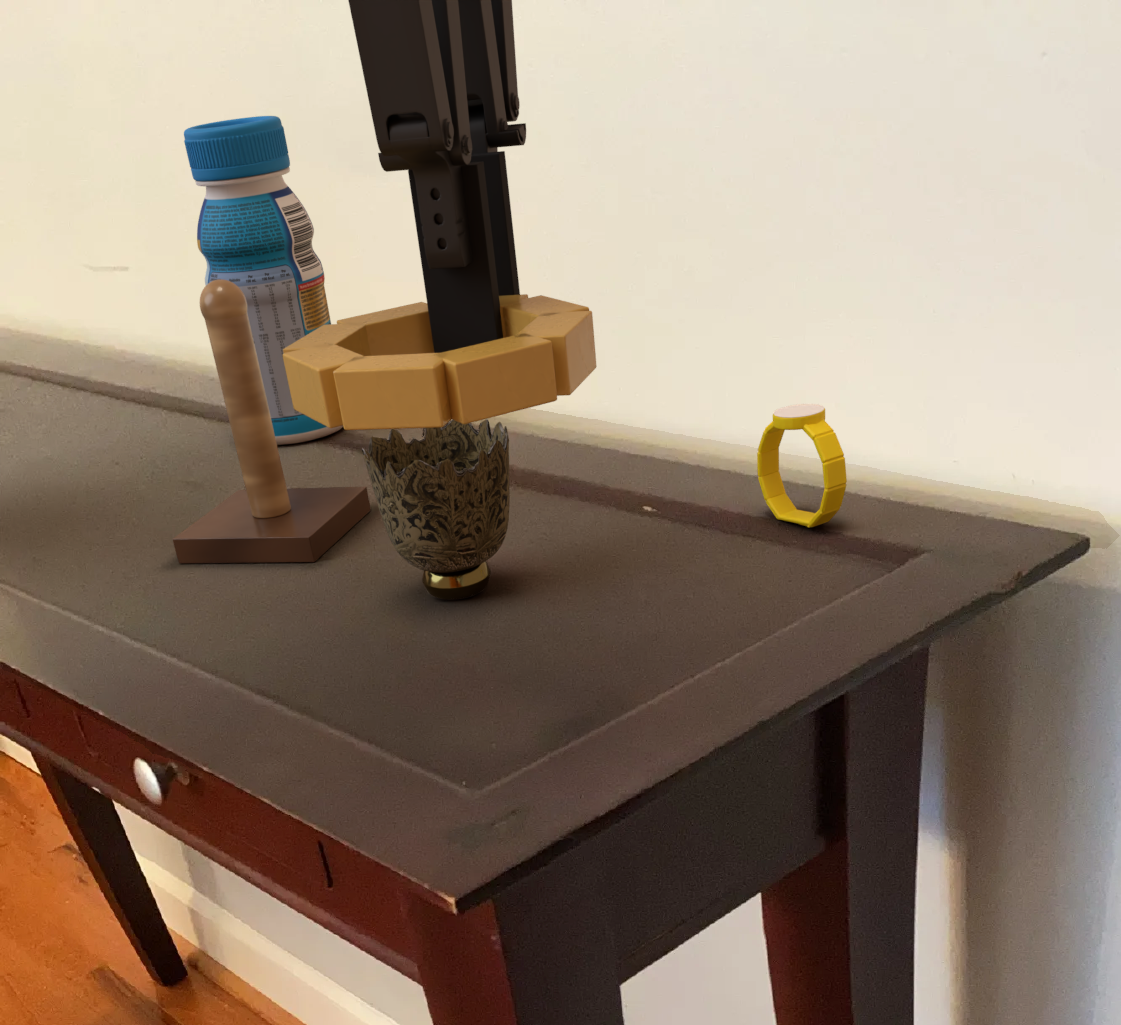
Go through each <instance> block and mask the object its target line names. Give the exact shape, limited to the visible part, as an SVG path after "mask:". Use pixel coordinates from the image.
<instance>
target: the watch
mask: <svg viewBox="0 0 1121 1025" xmlns="http://www.w3.org/2000/svg"><path fill="white" fill-rule="evenodd" d="M798 430H799V431H800V430H802V431H803V432H804V433H805V434H806V435H807V436H808V437H809V438H810V440H812V442H813V444H814V447H815V449H816V452H817V454H818V456H819V459H820V461H821V464H822V478H823V487H824V489H823V493H822V497H821V501H820V505H819V508H818V510H817V511H816V512H812V511H806V510H802V509H797V507H796V506H795V505H794V503H793V501H792V500H791V499H790V497H789V496H788V494H787V493H786V489H785V486H784V482H783V479H782V476H781V473H780V445H781V442H782V440H783V437H784V434H785V431H798ZM756 455H757V456H756V461H757V462H756V466H757V470H756V471H757V479H758V483H759V486H760V489H761V493H762V497H763V499H764V501H765V503H766V505H767V506H768V509H769V510H770V511H771V512H772V514H773V515H774V517H775V518H776V520H778V521H782V522H783V521H784V522H789V523H794V524H798V525H800V526H805V527H806V528H814V527H818V526H820V525H822V524H825V523H829V522H830V521H831V520H832V519H833V517H834V516H835V515H836V514H837V513H838V512H839V511H840V509H841V507H842V505H843V501H844V497H845V492H846V488H847V482H848V480H847V468H846V457H845V453H844V450H843V449H842V446H841V443H840V441H839V439H838V436H837V434H836V432H835V430H834V429H833V428H832V427H831V425H829V423H827V421H826V408H825V406H823V405H822V404H819V403H818V404H816V403H799V404H798V403H797V404H790V405H785V406H782V407H779V408H777V409H775V410H774V411H773V412H772V421H771V422H770V423H769V424H768V425H766V427H765V428H764V430H763V432H762V434H761V438H760V441H759V444H758V448H757V452H756Z"/></svg>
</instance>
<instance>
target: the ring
mask: <svg viewBox="0 0 1121 1025" xmlns="http://www.w3.org/2000/svg"><path fill="white" fill-rule="evenodd" d="M499 301H500V314H501V322H502V331H503V338H502V339H497V340H493V341H489V342H485V343H480V344H476V345H472V346H468V347H463V348H459V349H455V350H451V351H446V352H442V353H434V347H433V340H432V333H431V326H430V319H429V312H428V305H427V302H425V301H419V302H414V303H410V304H405V305H400V306H397V307H392V308H387V309H382V310H379V311H373V312H369V313H365V314H359V315H355V316H351V317H345V318H342V319H341V318H340V319H337V320H336V323H333V324H332V323H331V324H330V325H323V326H321V327H319V328H318V329H316V330H314V331H313V332H311V333H309V334H308V335H306V336H304V337H303V338H301V339H299V340H298V341H296V342H294V343H293V344H291V345H289V346H288V347H286V348H284V349H283V353H284V354H283V360H284V365H285V370H286V374H287V379H288V384H289V389H290V393H291V398H292V403H293V408H294V409H295V410H296V411H298V412H300V413H302V414H304V415H306V416H308V417H310V418H311V419H313V420H315V421H317V422H319V423H321V424H323V425H325V426H327V427H329V428H334V427H338V426H344V427H343V429H344V431H371V430H392V429H395V430H399V429H400V430H401V429H404V430H405V429H423V428H439V427H441V428H442V427H444V426H445V425H446V424H447V423H449V422H450V421H451V420H455V421H457V422H459V423H462V424H468V423H471V424H473V423H475V422H480V421H484V420H486V419H491V418H494V417H499V416H503V415H506V414H511V413H514V412H518V411H522V410H526V409H529V408H534V407H539V406H541V405H546V404H549V403H554V402H556V401H558V397H560V396H562V397H563V396H571V395H572V394H573V393H574V392H575V391H576V389H577V388H578V387H579V386H581V385H582V383H583V382H584V381H585V380H587V378H588V377H590V375H591V374H592V373H593V372H595V370H596V369H597V356H596V354H597V353H596V343H595V342H596V341H595V331H594V319H593V317H594V316H593V311H592V310H590V308H589V306H585V305H582V304H577V303H574V302H570V301H566V300H562V299H557V298H553V297H550V296H545V295H542V294H541V295H535V296H530V297H529V294H527V293H524V294H520V295H505V296H499Z"/></svg>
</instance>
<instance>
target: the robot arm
mask: <svg viewBox="0 0 1121 1025" xmlns="http://www.w3.org/2000/svg"><path fill="white" fill-rule="evenodd" d="M348 5H349V11H350V15H351V20H352V24H353V29H354V30H353V31H354V35H355V40H356V45H357V49H358V54H359V55H358V56H359V59H360V65H361V70H362V74H363V80H364V84H365V89H366V94H367V98H368V103H369V108H370V113H371V119H372V123H373V124H372V125H373V128H374V133H375V134H374V135H375V139H376V142H377V146H378V150H379V152H377V155H378V160H379V163H380V166H381V168H382V170H383V172H386V173H389V172H399V171H400V172H401V171H407V174H408V179H409V188H410V193H411V201H412V208H413V216H414V221H415V228H416V236H417V242H418V250H419V257H420V263H421V269H422V275H423V276H422V277H423V285H424V290H425V291H424V292H425V298H426V303H427V305H428V312H429V319H430V326H431V333H432V340H433V347H434V353H442V352H446V351H451V350H455V349H459V348H463V347H468V346H472V345H476V344H480V343H485V342H489V341H493V340H497V339H502V338H503V331H502V322H501V314H500V301H499V296H505V295H521V292H520V291H521V290H520V282H519V280H520V279H519V273H518V272H519V271H518V263H517V254H516V245H515V235H514V226H513V218H512V217H513V216H512V208H511V207H512V206H511V197H510V187H509V180H508V179H509V178H508V168H507V161H506V151H505V150H502V151H498V150H499V148H506V147H508V148H509V147H517V146H518V147H519V146H525V143H526V139H527V123H526V122H525V123H513V122H516V121H517V120H518V118H519V115H520V107H521V106H520V98H519V89H518V88H519V87H518V74H517V58H516V44H515V43H516V42H515V29H514V28H515V27H514V12H513V0H348ZM510 122H511V123H512V124H509V123H510Z"/></svg>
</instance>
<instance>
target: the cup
mask: <svg viewBox="0 0 1121 1025" xmlns="http://www.w3.org/2000/svg"><path fill="white" fill-rule="evenodd" d="M490 424H491V423H490V421H489V418H487V419H484V420H482V421H481V422H480V423H479V425H478V428H475V427H474V425H473V423H468V424H462V423H459V422H457V421H455V420H452V419H451V420H450V421H449V422H448V423H447V424H446V425H445V426H443V427H439V428H422V434H421V438H423V439H417V438H416V437H414V436H413V437H412V438H410V439H408V441H410V442H407V441H406V440H405V439H404V437H403V434H402V433H403V432H402V431H400V430H399V429H390V431H389V433H388V437H387V438H385V437H380V436H371V437H370V438H369V443H368V449H365V448H364V447H363V446H362V447H361V452H362V456H363V460H364V463H365V464H364V465H365V466H366V470H367V473H368V477H369V481H370V483H371V486H372V490H373V494H374V496H375V500H376V503H377V507H378V510H379V513H380V516H381V519H382V522H383V526H384V528H385V531H386V533H387V535H388V538H389V540H390V542H391V544H392V546H393V548H394V549H395V551H396V552H397V554H398V555H399V556H400V558H402V559H403V561H405V562H407V563H408V564H409V565H411V566H412V567H414V568H416V569H417V570H418V569H419V570H422V571H423V573H422V578H421V581H422V584H423V587H424V588H425V590H426V591H427V593H428V594H429V595H430V596H432V597H434V598H438V599H439V600H440V599H441V600H447V601H449V600H450V601H453V600H461V599H462V600H463V599H467V598H470V597H474V596H476V595H478V594H480V593H481V592H483V591H484V590H485V589H486V588H487V587H488V585H489V583H490V579H491V574H492V570H491V568H490V566H489V563H488V562H487V561H489V560H490V559H491V558H492V557H493V556H494V555H496V553H497V552H498V551H499V549H500V548H501V547H502V545H503V544H504V541H505V539H506V536H507V533H508V528H509V523H510V522H509V521H510V503H511V502H510V500H511V499H510V498H511V497H510V496H511V490H510V489H511V488H510V437H509V434H508V428H507V425H504V427H503V424H502V422H501V421H498V422H497V423H496V424H495V425H494V427H493V431H492V429H491V425H490Z"/></svg>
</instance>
